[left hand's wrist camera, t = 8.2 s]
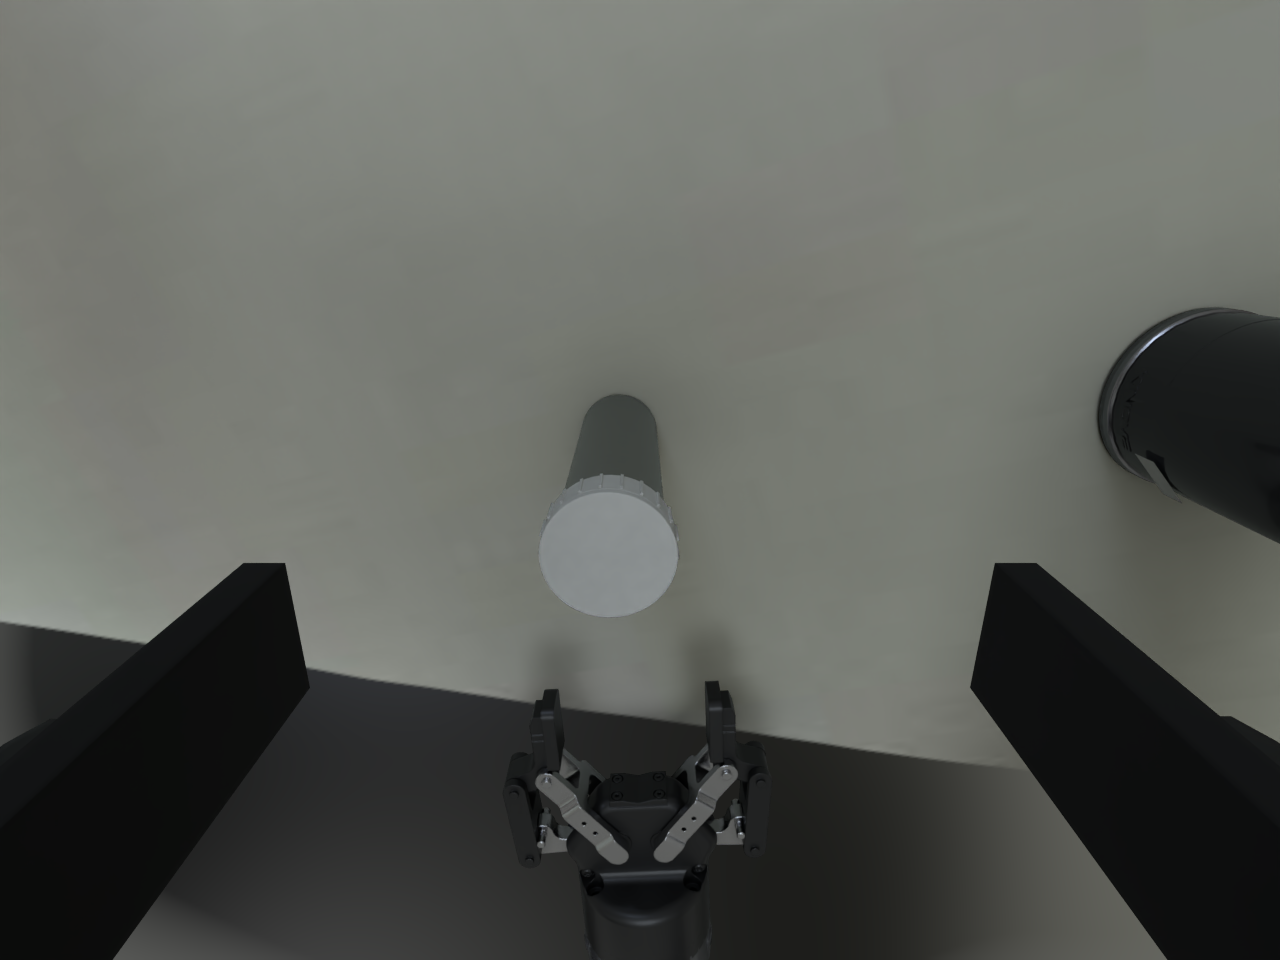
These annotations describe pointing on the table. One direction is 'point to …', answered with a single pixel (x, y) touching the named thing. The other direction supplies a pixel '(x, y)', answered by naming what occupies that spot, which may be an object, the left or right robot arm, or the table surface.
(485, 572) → the table surface
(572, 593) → the lid
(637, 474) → the metal cylinder tube
